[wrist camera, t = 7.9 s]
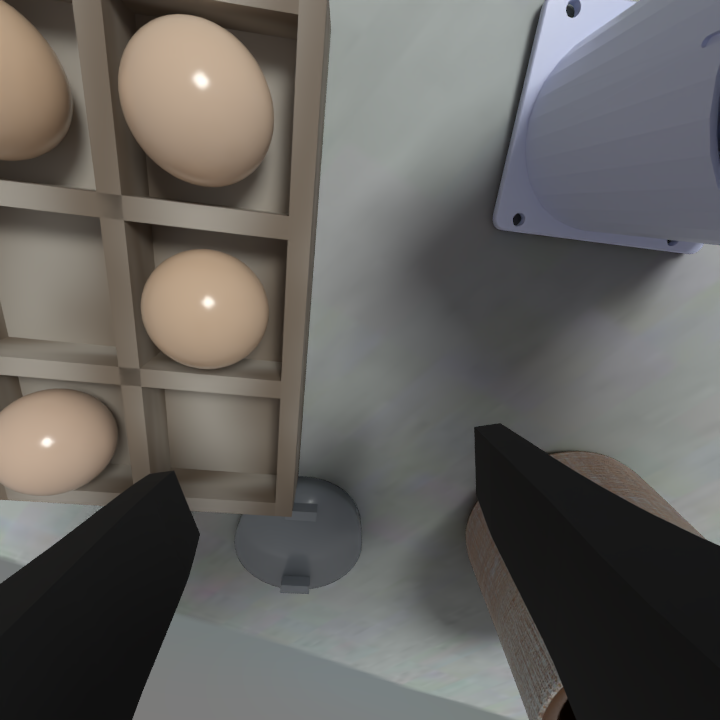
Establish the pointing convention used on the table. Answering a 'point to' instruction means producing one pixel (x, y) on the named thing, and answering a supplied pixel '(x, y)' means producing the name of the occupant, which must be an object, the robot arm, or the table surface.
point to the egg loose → (204, 309)
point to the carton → (156, 244)
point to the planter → (506, 605)
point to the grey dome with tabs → (303, 539)
